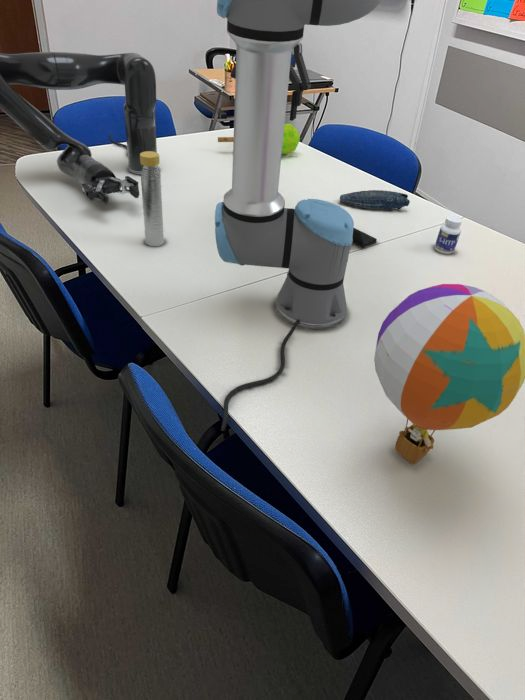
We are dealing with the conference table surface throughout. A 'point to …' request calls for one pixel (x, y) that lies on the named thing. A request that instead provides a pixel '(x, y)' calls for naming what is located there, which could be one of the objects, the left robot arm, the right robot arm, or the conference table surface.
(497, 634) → the conference table surface
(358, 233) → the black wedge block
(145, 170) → the bottle
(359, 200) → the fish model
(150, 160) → the cap
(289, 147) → the decorative tree
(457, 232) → the pill bottle
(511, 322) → the toy
